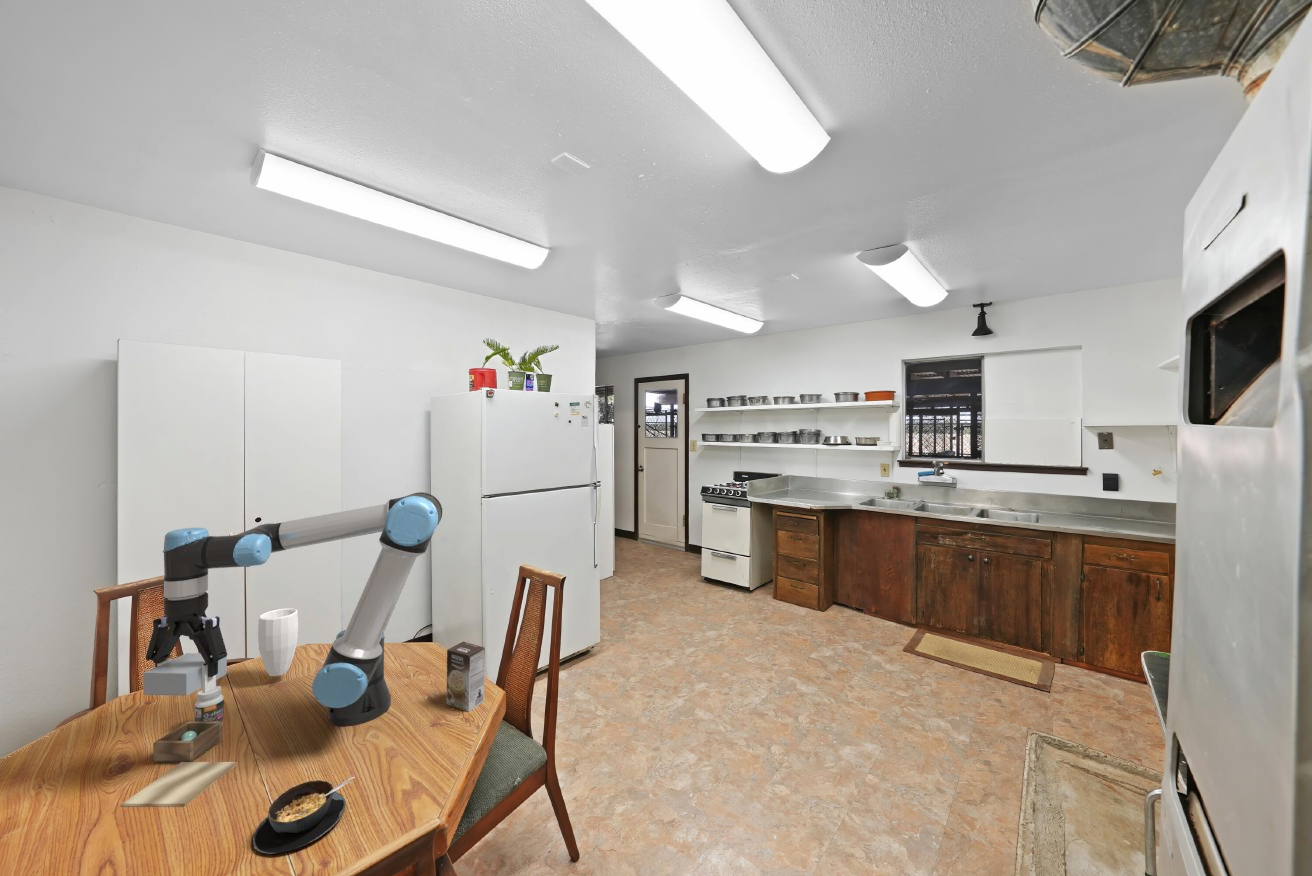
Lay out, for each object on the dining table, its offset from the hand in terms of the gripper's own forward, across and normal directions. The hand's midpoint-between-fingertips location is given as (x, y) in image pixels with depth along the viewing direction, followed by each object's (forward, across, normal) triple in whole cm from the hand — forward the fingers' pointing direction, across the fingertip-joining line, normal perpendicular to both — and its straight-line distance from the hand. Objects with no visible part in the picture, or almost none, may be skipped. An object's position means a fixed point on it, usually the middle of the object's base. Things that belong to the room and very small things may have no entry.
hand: (186, 689), depth 115 cm
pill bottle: (+18, +8, -14) cm, 24 cm away
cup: (+18, +9, -38) cm, 43 cm away
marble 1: (+17, +6, -6) cm, 19 cm away
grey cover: (-1, 0, 0) cm, 1 cm away
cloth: (+18, -6, +6) cm, 20 cm away
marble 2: (+16, +4, -2) cm, 17 cm away
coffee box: (+18, -54, -28) cm, 64 cm away
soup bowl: (+18, -41, +16) cm, 48 cm away
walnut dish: (+18, +4, -4) cm, 18 cm away
